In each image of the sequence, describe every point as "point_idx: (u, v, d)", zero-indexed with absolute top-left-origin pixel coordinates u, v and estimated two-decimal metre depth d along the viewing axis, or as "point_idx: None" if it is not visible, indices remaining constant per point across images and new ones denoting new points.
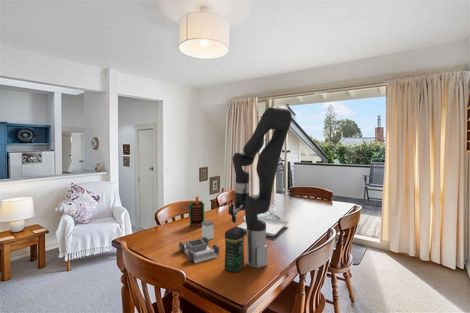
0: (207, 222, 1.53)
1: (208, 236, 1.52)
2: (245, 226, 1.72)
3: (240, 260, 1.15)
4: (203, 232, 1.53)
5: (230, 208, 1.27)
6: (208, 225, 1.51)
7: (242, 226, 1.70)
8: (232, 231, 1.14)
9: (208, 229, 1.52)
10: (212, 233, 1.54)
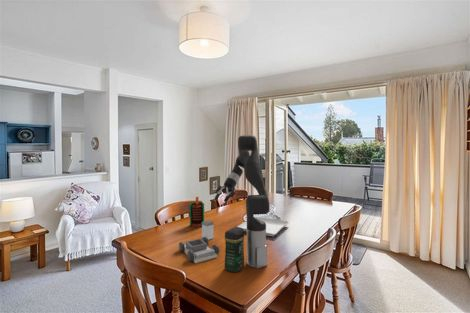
0: (207, 222, 1.53)
1: (208, 236, 1.52)
2: (245, 226, 1.72)
3: (240, 260, 1.15)
4: (203, 232, 1.53)
5: (218, 188, 1.70)
6: (208, 225, 1.51)
7: (242, 226, 1.70)
8: (232, 231, 1.14)
9: (208, 229, 1.52)
10: (212, 233, 1.54)
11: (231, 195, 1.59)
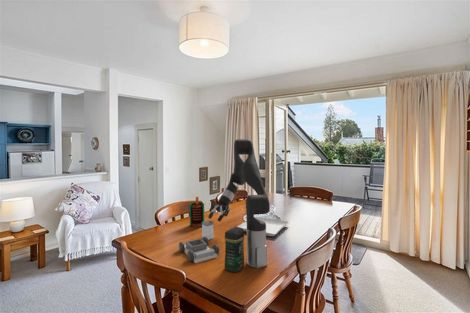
0: (207, 222, 1.53)
1: (208, 236, 1.52)
2: (245, 226, 1.72)
3: (240, 260, 1.15)
4: (203, 232, 1.53)
5: (212, 206, 1.66)
6: (208, 225, 1.51)
7: (242, 226, 1.70)
8: (232, 231, 1.14)
9: (208, 229, 1.52)
10: (212, 233, 1.54)
11: (225, 214, 1.55)
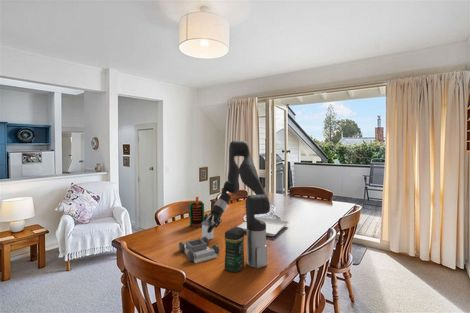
0: (207, 222, 1.53)
1: (208, 236, 1.52)
2: (245, 226, 1.72)
3: (240, 260, 1.15)
4: (203, 232, 1.53)
5: None
6: (208, 225, 1.51)
7: (242, 226, 1.70)
8: (232, 231, 1.14)
9: None
10: (212, 233, 1.54)
11: (215, 225, 1.51)
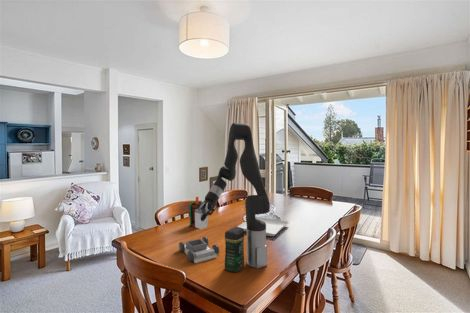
0: (200, 209, 1.42)
1: (201, 224, 1.40)
2: (245, 226, 1.72)
3: (240, 260, 1.15)
4: (196, 220, 1.42)
5: None
6: (201, 212, 1.40)
7: (242, 226, 1.70)
8: (232, 231, 1.14)
9: None
10: (206, 221, 1.42)
11: (209, 213, 1.40)
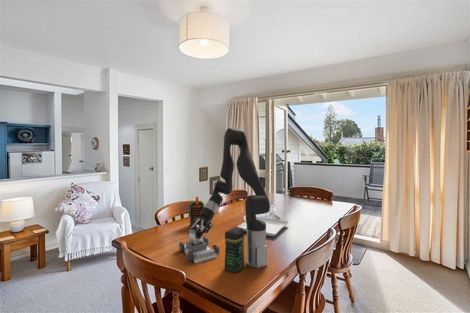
0: (195, 230, 1.36)
1: None
2: (245, 226, 1.72)
3: (240, 260, 1.15)
4: (190, 241, 1.36)
5: None
6: (196, 233, 1.34)
7: (242, 226, 1.70)
8: (232, 231, 1.14)
9: (197, 238, 1.34)
10: (201, 242, 1.36)
11: (205, 230, 1.33)
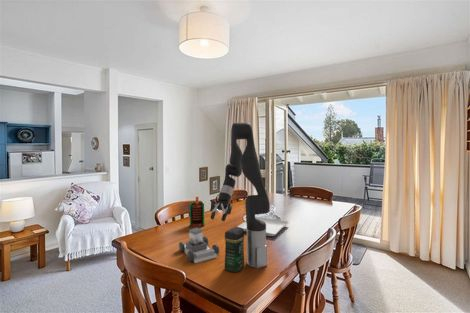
0: (195, 230, 1.36)
1: None
2: (245, 226, 1.72)
3: (240, 260, 1.15)
4: (190, 241, 1.36)
5: None
6: (196, 233, 1.34)
7: (242, 226, 1.70)
8: (232, 231, 1.14)
9: (197, 238, 1.34)
10: (201, 242, 1.36)
11: (228, 212, 1.44)
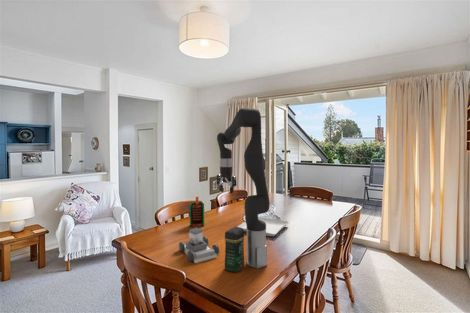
0: (195, 230, 1.36)
1: None
2: (245, 226, 1.72)
3: (240, 260, 1.15)
4: (190, 241, 1.36)
5: None
6: (196, 233, 1.34)
7: (242, 226, 1.70)
8: (232, 231, 1.14)
9: (197, 238, 1.34)
10: (201, 242, 1.36)
11: (234, 185, 1.48)
